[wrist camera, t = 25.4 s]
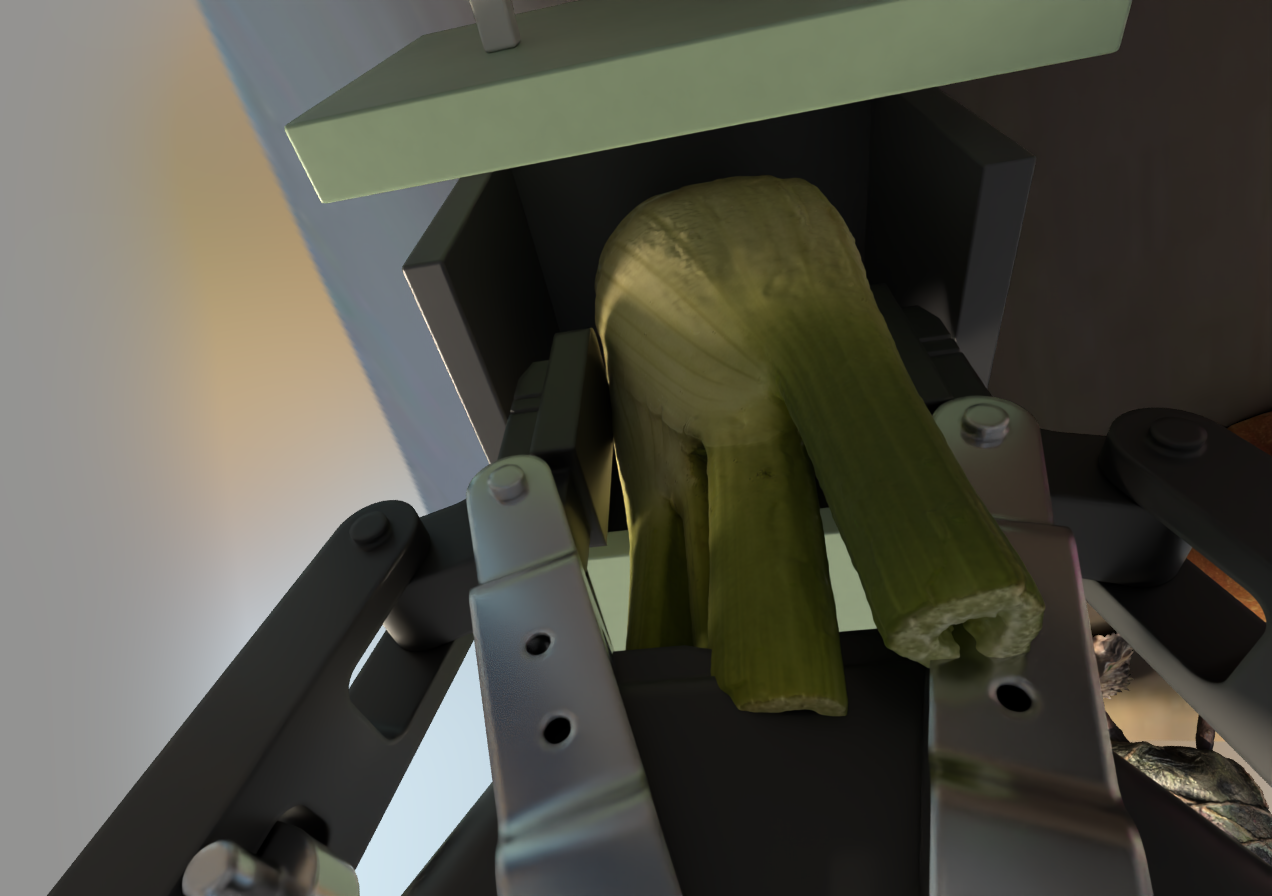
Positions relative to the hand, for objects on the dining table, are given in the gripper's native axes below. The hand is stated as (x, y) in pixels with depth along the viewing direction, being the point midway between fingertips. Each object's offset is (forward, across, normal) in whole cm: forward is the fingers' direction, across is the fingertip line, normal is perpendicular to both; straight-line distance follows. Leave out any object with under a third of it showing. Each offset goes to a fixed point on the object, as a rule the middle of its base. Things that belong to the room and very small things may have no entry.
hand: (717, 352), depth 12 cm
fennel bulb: (+4, 0, 0) cm, 4 cm away
